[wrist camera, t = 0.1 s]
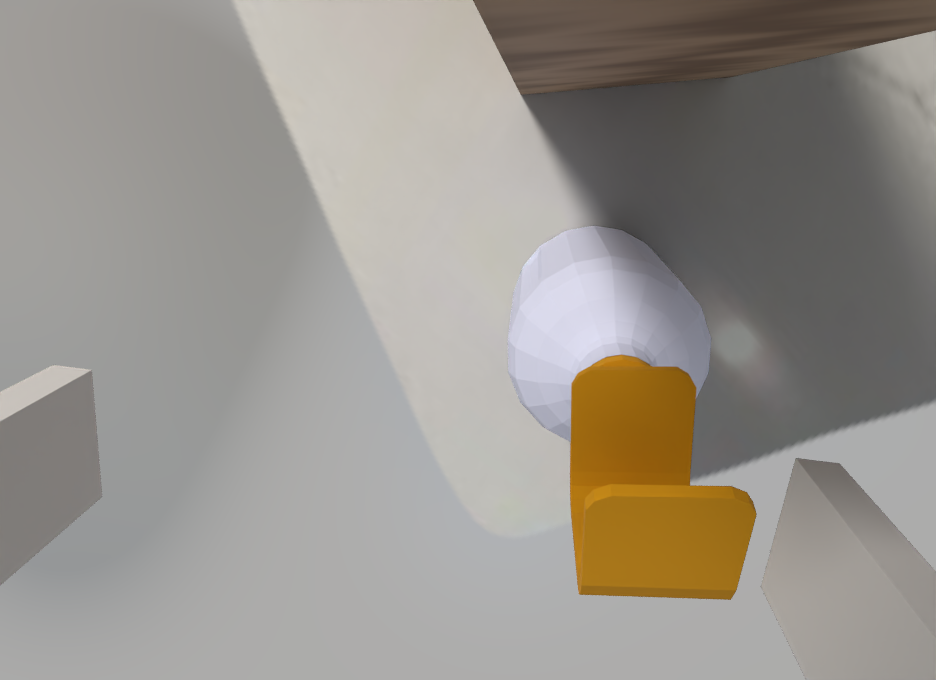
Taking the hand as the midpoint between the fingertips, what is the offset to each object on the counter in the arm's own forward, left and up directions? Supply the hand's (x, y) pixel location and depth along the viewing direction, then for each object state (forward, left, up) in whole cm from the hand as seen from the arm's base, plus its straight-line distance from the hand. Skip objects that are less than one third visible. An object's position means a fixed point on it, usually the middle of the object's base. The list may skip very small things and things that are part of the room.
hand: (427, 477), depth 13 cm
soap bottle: (+3, +6, -28) cm, 29 cm away
